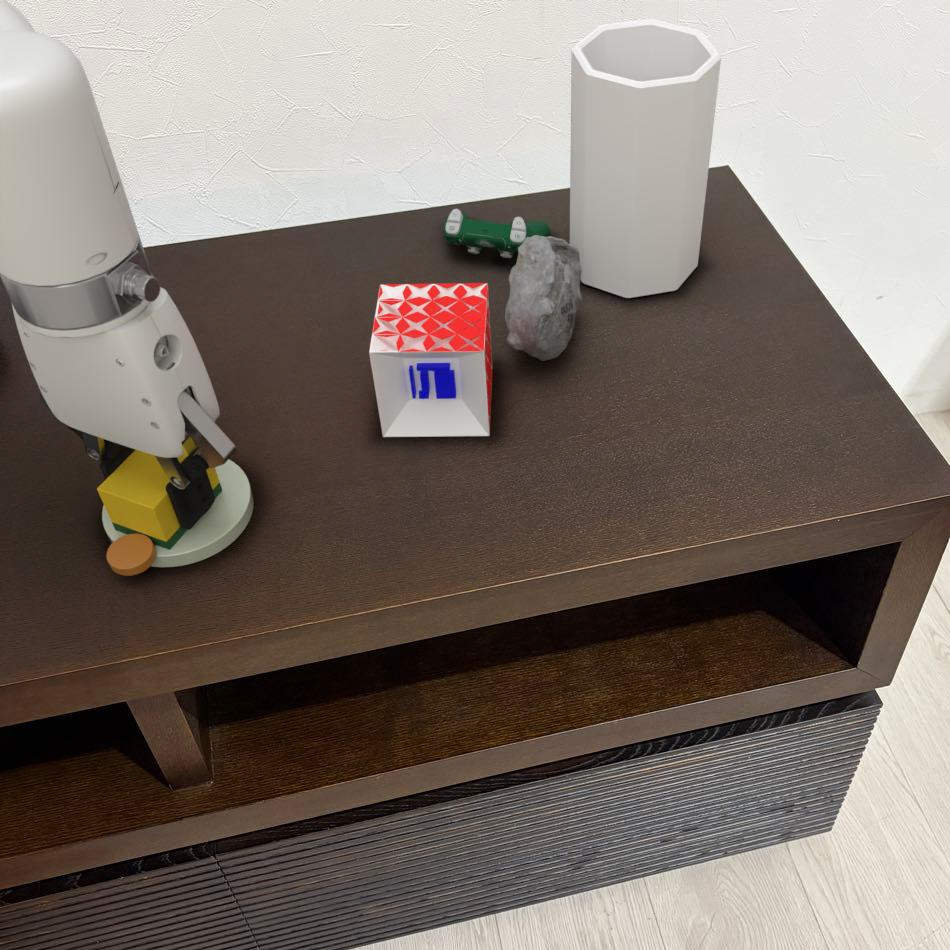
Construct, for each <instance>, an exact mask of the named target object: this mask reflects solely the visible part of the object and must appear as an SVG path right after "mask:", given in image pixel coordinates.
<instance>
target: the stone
mask: <svg viewBox="0 0 950 950" xmlns="http://www.w3.org/2000/svg"><path fill="white" fill-rule="evenodd" d="M581 272H582V270H581V265H580V256H579V251H578V249H577V248H576V247H575V245H570V243H568V242H567V241H566V240H565V239H563V238H558V237H554V236H551V235H550V236H548V237H543V236H538V235H535V236H532V237H527V238H526V239H525V240H524V242H523V244H522V245H521V246H520V247H518V251H517V258H516V263H515V265H513V266H512V267H511V269H510V272H509V276H508V282H509V286H510V288H509V297H508V300H507V303H506V307H505V312H504V322H505V325H506V329H507V331H508V335H507V337H506V342H507V345H508V346H509V347H510V348H511V349H513V350H516V351H523V352H525V353H527V354H528V355H529V356H531V357H533V358H536V359H538V360H539V361H541V362H545V361H546V362H547V361H550V360H553V359H556V358H557V357H559V356H560V355H561V354H562V353H563V352H564V350H566V348H567V347H568V344H569V343H570V340H571V338H572V336H573V331H574V328H575V324H576V323H575V319H576V312H577V311H578V310H579V308H580V306H581V304H582V302H583V296H582V294H581V288H580V285H581Z"/></svg>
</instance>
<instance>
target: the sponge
mask: <svg viewBox="0 0 950 950" xmlns="http://www.w3.org/2000/svg"><path fill="white" fill-rule="evenodd" d="M182 446H183V445H182ZM183 451H184V452H183V455H182V456H180V457H177V459H178V461H179V462H180V463H181V462H182V461H183V460H184V459H185V458H186V457H187V456H188V453H187V452H186V450H185V448H184V446H183ZM206 471H207V474H208V477H209V480H210V483H211V486H212V489H213V492H214V495H215V498H216V497H217V496H218V495H219V494H220V493H221V491H222V487H221V484H220V481H219V478H218V475H217V472H216V469H215V468H212V469H211V468H210V469H207V470H206ZM169 482H170V481H169V479H168V477H167V476H166V474H165V472H164V471H163V469H162V467H161V466H160V464H159V462H158V461H157V459H156V457H155V456H154V455H151V454H148V453H145V452H142V451H139V450H135V451H134V452H133V453H132V454H131V455H130V456H129V457H128V458H127V459H126V460H125V461H124V462H123V463H122V464H121V465H120V466H119V467H118V468H117V469H116V470H115V471H114V472H113V473H112V474H111V475H110V476H109V477H108V478H107V479H106V480H105V479H104V480H103V482H102V483H100V485H99V486H98V487H96V490H97V492H98V493H97V494H98V495H99V497H100V499H101V501H102V504H103V506H105V508H106V511H107V513H108V515H109V517H110V519H111V522H112V524H113V526H114V528H115V530H116V531H119V532H122V533H125V534H127V535H128V534H134V533H137V534H143V535H145V536H147V537H149V538H150V539H151V541H152V542H153V544H155V545H158V546H160V547H163V548H166V549H169V550H170V549H171V548H172V547H173V546H174V545H175V544H176V542H177V541H178V540H179V539H180V538H181V537H182V536H183V535H184V533H185V532H186V531H187V529H184V528H181V527H180V524H179V522H178V519H177V517H176V514H175V511H174V509H173V506H172V504H171V501H170V498H169V496H168V493H167V492H166V485H167V484H168V483H169Z"/></svg>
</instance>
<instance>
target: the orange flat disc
mask: <svg viewBox="0 0 950 950" xmlns="http://www.w3.org/2000/svg"><path fill="white" fill-rule="evenodd" d="M155 558H156V549H155V547H154V544H153V542H152V541H151V539H150V538H149V537H147V536H145V535H143V534H137V533H134V534H128V535H124V536H122V537H120V538H118V539H117V540H115V541H114V542H113V543H112V544H110V545H109V547H108V548H107V551H106V561H107V563H108V565H109V567H110V568H111V571H113V572H114V573H116V574H117V575H120V576H123V577H124V576H125V577H132V576H135V575H139V574H142V573H144V572H145V571H147V570H148V569H149V568H150V567H152V566H151V565H152V564H153V562H154V561H155Z"/></svg>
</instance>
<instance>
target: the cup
mask: <svg viewBox="0 0 950 950" xmlns="http://www.w3.org/2000/svg"><path fill="white" fill-rule="evenodd" d="M570 52H571V59H570V60H571V61H570V63H571V64H570V65H571V67H570V150H569V151H570V153H569V154H570V157H569V159H570V162H569V164H570V167H569V184H570V185H569V244H570V245H575V247H576V248H577V249H578V251H579V256H580V265H581V270H582V272H581V279H580V283H582V284H584V285H585V286H586V285H587V286H589V287H592V288H596V289H599V290H601V291H604V292H607V293H610V294H613V295H616V296H619V297H622V298H624V299H631V298H638V297H644V296H650V295H656V294H662V293H669V292H675V291H677V290H678V289H679V288H680V287H681V286H682V285H683V283H685V281H686V280H687V279H688V278H689V276H690V275H691V274H692V273H693V272H694V271H695V269H696V268H697V267H698V265H699V257H700V248H701V240H702V239H701V237H702V231H703V223H704V222H703V221H704V213H705V204H706V197H707V196H706V195H707V187H708V186H707V185H708V179H709V169H710V159H711V151H712V141H713V133H714V124H715V116H716V106H717V98H718V88H719V81H720V70H721V62H722V55H721V54H720V52H719V51H718V50H717V48H716V47H715V46H714V45H713V43H712V42H711V40H710V39H708V38H707V35H705V33H704V32H703V31H701V30H700V29H697V28H693V27H688V26H685V25H681V24H677V23H676V24H675V23H671V22H668V21H664V20H661V19H655V18H646V19H645V18H644V19H637V20H630V21H621V22H613V23H605V24H600V25H599V26H598V27H596V28H595V29H594V30H593V31H591V32H590V33H589V34H587V35H586V36H585V37H583V38H582V39H581V40H579V42H577V43H576V44H574V45H573V46H572V47H571V51H570Z"/></svg>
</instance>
